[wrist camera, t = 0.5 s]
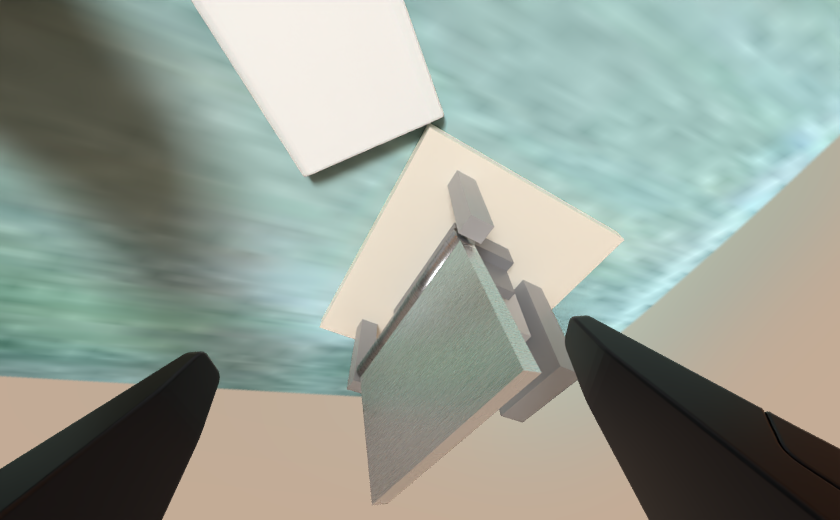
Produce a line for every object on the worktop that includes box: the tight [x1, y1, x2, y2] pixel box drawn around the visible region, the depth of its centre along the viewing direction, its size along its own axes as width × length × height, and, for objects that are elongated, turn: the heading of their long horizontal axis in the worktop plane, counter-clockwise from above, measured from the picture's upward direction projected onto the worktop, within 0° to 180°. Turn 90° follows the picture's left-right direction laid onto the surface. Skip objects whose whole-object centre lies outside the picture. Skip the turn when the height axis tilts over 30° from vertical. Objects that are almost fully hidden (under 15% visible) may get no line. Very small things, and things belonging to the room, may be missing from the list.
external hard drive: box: [191, 0, 444, 177], centre depth 15 cm, size 2×8×12 cm
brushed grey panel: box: [356, 228, 541, 505], centre depth 16 cm, size 1×11×8 cm, turn 151°
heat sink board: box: [320, 123, 624, 422], centre depth 21 cm, size 14×16×8 cm
